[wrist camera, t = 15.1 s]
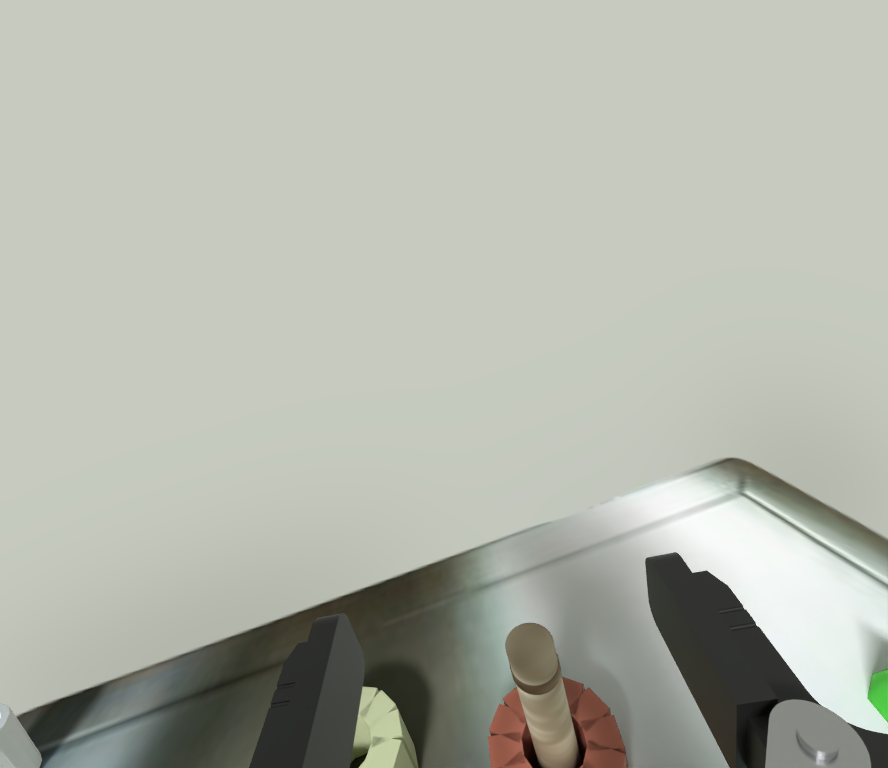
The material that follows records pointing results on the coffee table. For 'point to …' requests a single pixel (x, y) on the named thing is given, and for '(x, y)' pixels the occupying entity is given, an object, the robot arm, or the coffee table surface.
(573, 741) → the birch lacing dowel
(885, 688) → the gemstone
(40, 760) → the shot glass
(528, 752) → the red bead
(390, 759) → the pale green bead
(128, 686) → the coffee table surface
